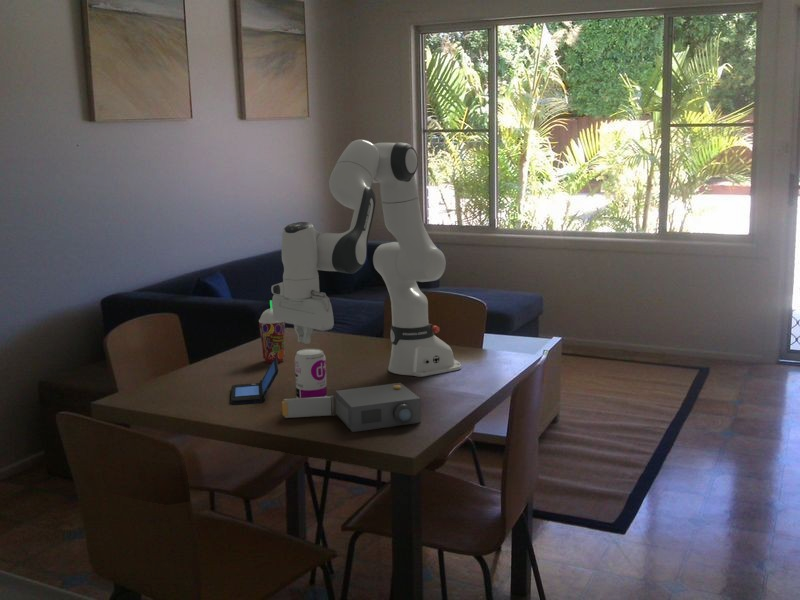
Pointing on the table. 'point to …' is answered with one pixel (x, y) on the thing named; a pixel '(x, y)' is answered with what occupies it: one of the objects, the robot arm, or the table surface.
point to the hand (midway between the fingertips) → (304, 342)
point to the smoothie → (272, 336)
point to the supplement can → (310, 373)
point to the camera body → (377, 407)
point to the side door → (308, 407)
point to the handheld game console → (254, 387)
